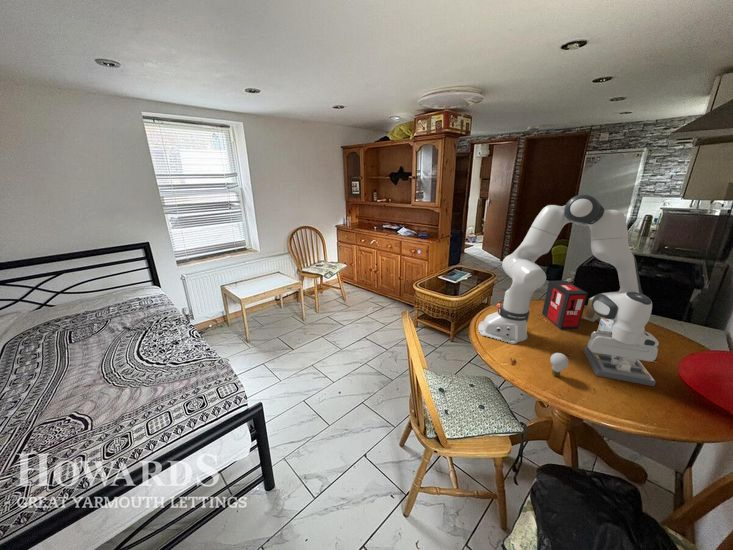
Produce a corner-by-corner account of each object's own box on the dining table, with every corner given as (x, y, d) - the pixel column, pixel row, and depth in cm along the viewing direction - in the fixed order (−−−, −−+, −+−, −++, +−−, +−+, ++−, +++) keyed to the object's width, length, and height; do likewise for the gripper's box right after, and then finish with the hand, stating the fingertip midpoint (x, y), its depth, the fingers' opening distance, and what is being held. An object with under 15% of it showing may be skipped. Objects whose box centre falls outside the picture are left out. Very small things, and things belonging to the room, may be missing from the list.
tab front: (618, 371, 112) (620, 364, 111) (615, 367, 114) (617, 359, 113) (630, 374, 111) (633, 366, 109) (627, 369, 113) (630, 361, 112)
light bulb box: (624, 352, 126) (631, 331, 122) (606, 351, 128) (613, 330, 124) (610, 338, 136) (616, 319, 132) (594, 337, 137) (600, 318, 134)
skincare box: (589, 315, 157) (594, 295, 152) (598, 318, 153) (604, 298, 149) (583, 318, 154) (588, 298, 149) (592, 322, 150) (598, 301, 146)
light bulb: (543, 370, 117) (548, 349, 113) (558, 370, 117) (563, 349, 113) (552, 380, 112) (557, 359, 108) (567, 380, 111) (573, 359, 108)
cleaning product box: (541, 313, 160) (549, 280, 153) (557, 313, 160) (565, 280, 153) (560, 329, 145) (569, 293, 137) (578, 329, 145) (588, 293, 137)
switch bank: (596, 375, 113) (598, 368, 112) (583, 350, 128) (585, 344, 127) (654, 386, 107) (657, 378, 106) (633, 359, 122) (636, 352, 121)
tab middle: (623, 365, 115) (625, 358, 114) (620, 361, 118) (622, 354, 116) (635, 367, 114) (638, 360, 112) (632, 363, 116) (635, 356, 115)
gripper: (595, 333, 109) (586, 363, 113) (665, 343, 101) (652, 375, 106) (590, 325, 114) (581, 354, 119) (655, 334, 107) (644, 364, 112)
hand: (615, 364), depth 113 cm, fingers closed
